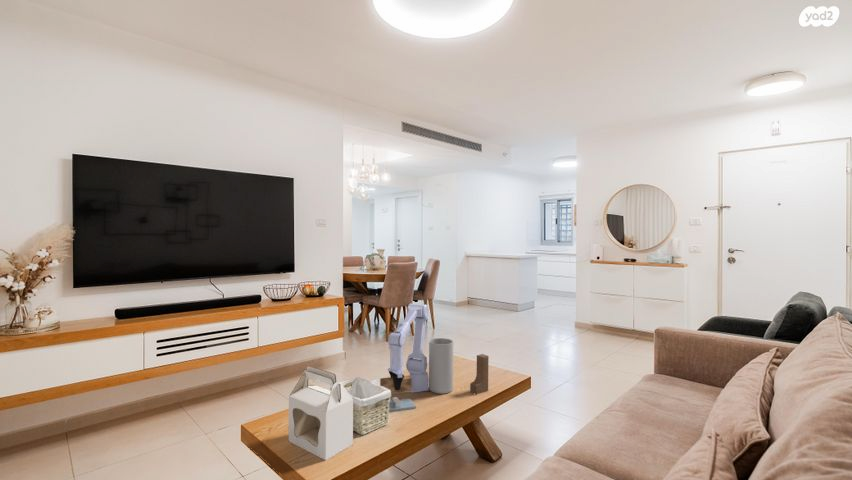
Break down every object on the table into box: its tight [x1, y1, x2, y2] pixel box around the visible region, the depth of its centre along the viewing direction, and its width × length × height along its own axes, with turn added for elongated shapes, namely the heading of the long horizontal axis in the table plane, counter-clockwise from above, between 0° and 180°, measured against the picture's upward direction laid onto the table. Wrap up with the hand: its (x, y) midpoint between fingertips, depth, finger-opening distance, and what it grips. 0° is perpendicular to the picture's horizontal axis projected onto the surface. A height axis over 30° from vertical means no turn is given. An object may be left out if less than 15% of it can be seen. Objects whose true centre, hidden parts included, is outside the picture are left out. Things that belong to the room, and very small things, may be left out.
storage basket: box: [329, 376, 392, 436], centre depth 166 cm, size 24×16×15 cm
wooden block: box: [469, 353, 489, 395], centre depth 199 cm, size 9×4×18 cm, turn 128°
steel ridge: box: [391, 396, 401, 408], centre depth 180 cm, size 2×7×2 cm, turn 19°
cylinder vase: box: [428, 337, 454, 395], centre depth 201 cm, size 12×12×25 cm
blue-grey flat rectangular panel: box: [389, 398, 417, 413], centre depth 180 cm, size 16×9×1 cm, turn 109°
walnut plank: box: [379, 374, 412, 395], centre depth 181 cm, size 14×4×6 cm, turn 108°
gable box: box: [288, 365, 354, 461], centre depth 148 cm, size 22×13×28 cm, turn 54°
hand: (396, 388), depth 181 cm, fingers closed on walnut plank, 4 cm apart
